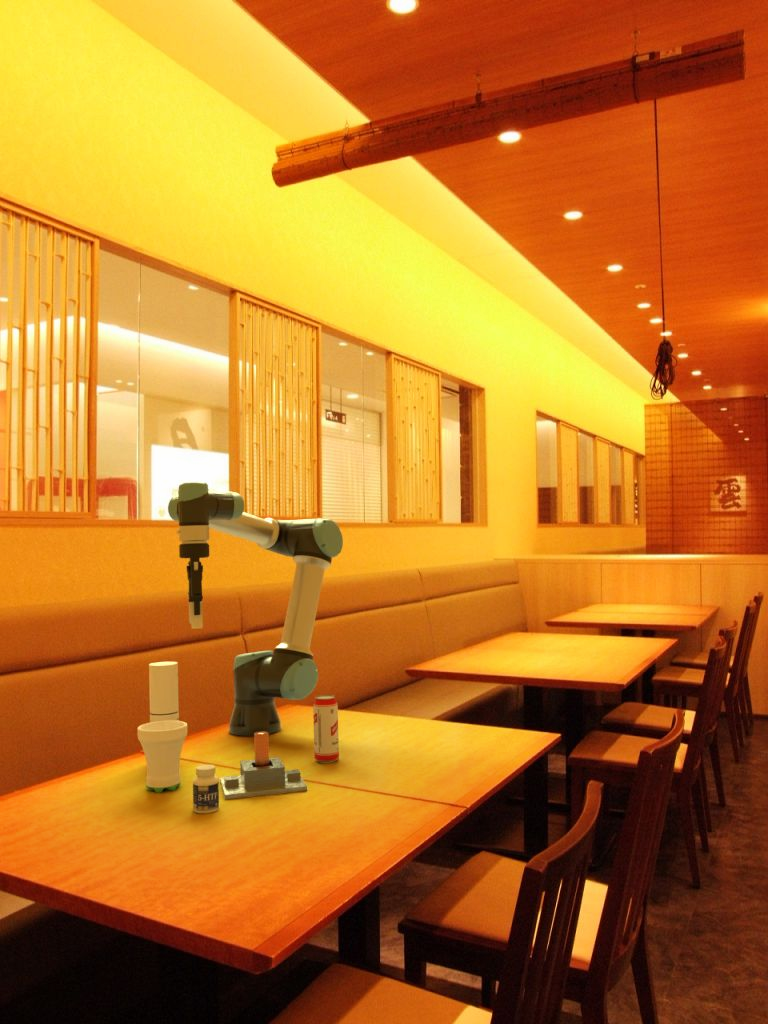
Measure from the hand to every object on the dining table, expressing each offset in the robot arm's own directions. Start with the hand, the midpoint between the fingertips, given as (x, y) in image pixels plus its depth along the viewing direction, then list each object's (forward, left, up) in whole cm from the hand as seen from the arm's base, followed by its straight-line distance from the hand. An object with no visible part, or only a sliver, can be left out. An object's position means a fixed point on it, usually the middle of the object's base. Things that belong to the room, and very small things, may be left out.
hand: (195, 626), depth 213 cm
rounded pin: (+26, +13, -35) cm, 45 cm away
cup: (+19, -9, -35) cm, 41 cm away
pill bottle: (+39, 0, -35) cm, 52 cm away
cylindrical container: (-5, -8, -35) cm, 36 cm away
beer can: (+9, +31, -35) cm, 48 cm away
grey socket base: (+26, +13, -35) cm, 45 cm away
